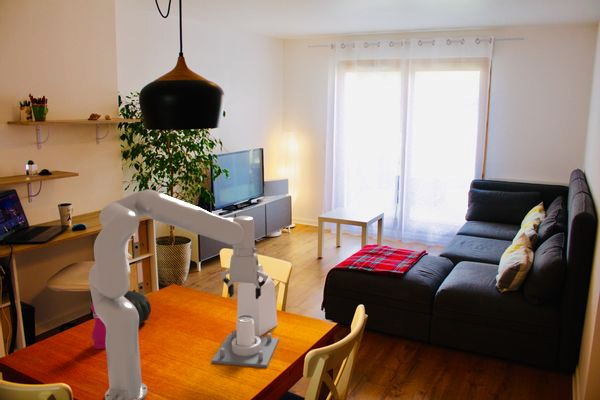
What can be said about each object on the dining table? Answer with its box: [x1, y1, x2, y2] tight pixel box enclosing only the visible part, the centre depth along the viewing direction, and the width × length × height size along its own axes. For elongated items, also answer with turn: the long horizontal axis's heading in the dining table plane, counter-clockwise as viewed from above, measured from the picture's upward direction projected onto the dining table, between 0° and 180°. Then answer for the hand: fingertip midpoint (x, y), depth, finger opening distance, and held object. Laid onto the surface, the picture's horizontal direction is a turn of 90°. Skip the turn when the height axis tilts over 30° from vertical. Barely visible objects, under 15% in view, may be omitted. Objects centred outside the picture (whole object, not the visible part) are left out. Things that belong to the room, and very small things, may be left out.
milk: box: [236, 263, 278, 337], centre depth 202 cm, size 12×12×26 cm
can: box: [235, 315, 255, 347], centre depth 184 cm, size 6×6×12 cm
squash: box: [124, 290, 152, 326], centre depth 208 cm, size 14×15×15 cm
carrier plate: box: [211, 329, 280, 368], centre depth 185 cm, size 20×20×4 cm
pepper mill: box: [90, 301, 106, 350], centre depth 188 cm, size 7×7×20 cm
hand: (244, 296), depth 181 cm, fingers open, 9 cm apart
